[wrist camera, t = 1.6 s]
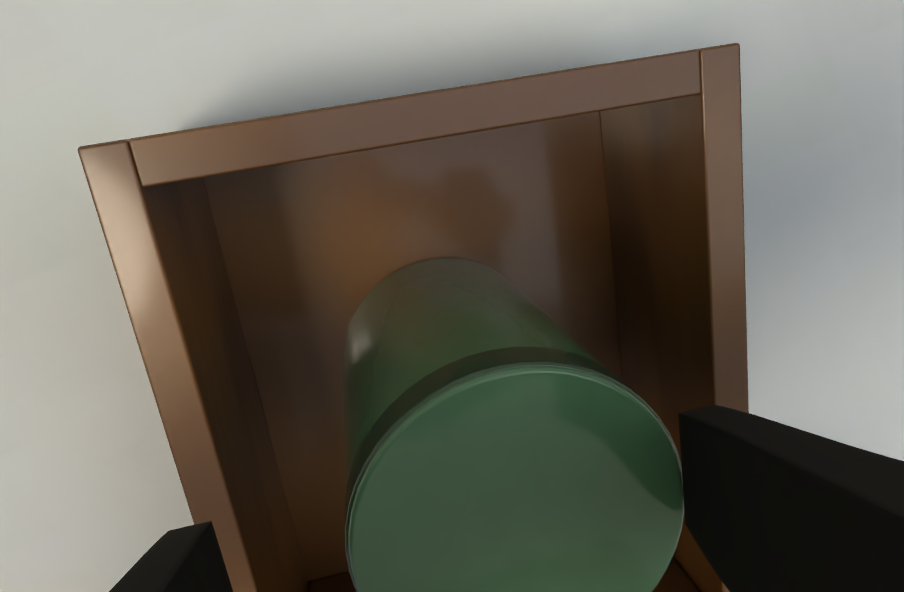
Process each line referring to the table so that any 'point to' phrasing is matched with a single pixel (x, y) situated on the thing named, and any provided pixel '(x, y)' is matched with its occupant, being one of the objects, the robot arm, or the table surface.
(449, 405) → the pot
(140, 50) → the table surface
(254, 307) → the box
